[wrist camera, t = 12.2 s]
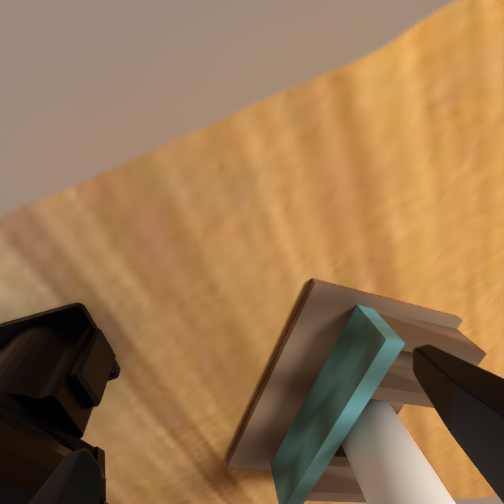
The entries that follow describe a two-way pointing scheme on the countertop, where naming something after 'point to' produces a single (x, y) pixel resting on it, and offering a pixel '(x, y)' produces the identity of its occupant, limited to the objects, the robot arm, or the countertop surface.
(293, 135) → the countertop surface
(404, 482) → the white cylinder
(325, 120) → the countertop surface
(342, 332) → the comb rack
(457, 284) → the countertop surface
